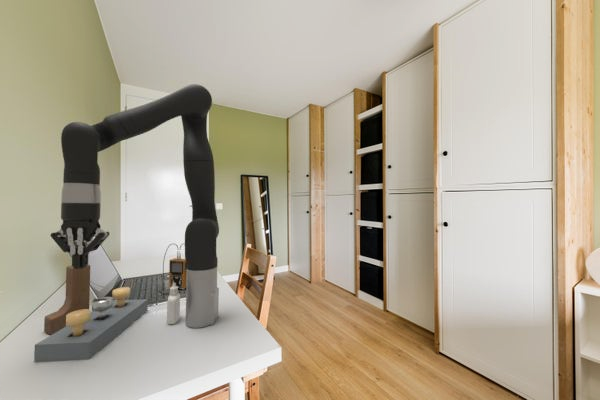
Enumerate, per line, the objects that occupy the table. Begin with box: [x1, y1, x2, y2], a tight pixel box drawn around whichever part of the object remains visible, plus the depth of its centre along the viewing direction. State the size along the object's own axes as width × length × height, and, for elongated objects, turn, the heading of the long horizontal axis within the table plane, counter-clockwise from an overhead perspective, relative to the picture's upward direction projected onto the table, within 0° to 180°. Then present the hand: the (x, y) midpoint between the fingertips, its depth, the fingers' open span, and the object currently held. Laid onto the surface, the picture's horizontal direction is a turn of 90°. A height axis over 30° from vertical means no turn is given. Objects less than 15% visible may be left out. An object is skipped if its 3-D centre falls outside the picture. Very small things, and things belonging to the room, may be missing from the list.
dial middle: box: [91, 296, 114, 320], centre depth 70 cm, size 5×5×6 cm
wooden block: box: [43, 264, 91, 336], centre depth 72 cm, size 9×4×18 cm, turn 153°
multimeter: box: [162, 243, 187, 288], centre depth 101 cm, size 15×10×20 cm
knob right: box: [111, 286, 131, 307], centre depth 78 cm, size 5×5×6 cm
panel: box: [33, 298, 149, 363], centre depth 69 cm, size 12×26×4 cm, turn 6°
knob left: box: [66, 308, 92, 337], centre depth 61 cm, size 5×5×6 cm
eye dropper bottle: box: [166, 283, 181, 325], centre depth 76 cm, size 4×6×12 cm
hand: (79, 268), depth 61 cm, fingers closed
